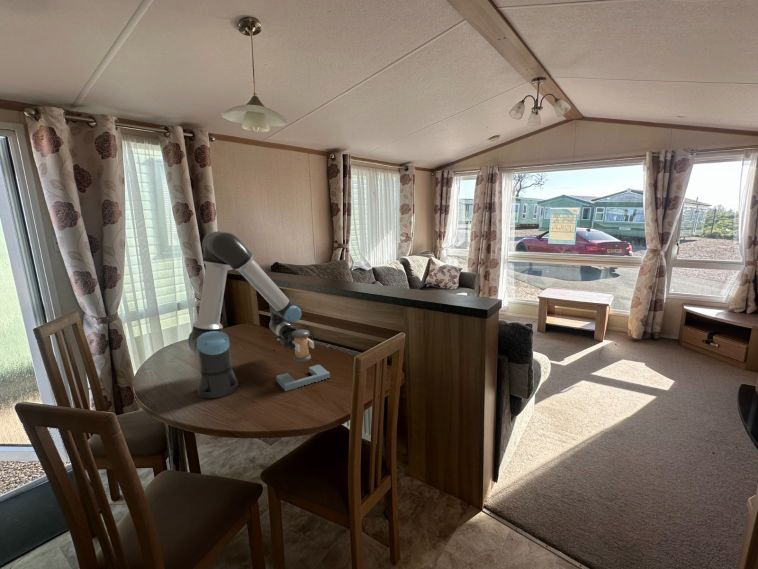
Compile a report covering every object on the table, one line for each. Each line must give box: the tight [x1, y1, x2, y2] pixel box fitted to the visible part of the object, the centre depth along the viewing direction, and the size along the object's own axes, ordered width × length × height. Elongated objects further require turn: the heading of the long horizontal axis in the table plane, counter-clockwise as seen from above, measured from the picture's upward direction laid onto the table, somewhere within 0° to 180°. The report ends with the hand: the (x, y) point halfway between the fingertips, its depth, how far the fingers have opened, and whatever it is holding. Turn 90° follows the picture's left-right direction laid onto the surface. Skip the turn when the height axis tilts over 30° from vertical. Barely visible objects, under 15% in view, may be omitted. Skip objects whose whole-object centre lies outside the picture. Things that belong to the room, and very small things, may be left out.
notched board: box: [275, 364, 331, 392], centre depth 154 cm, size 20×11×2 cm, turn 124°
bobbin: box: [292, 329, 312, 363], centre depth 152 cm, size 7×7×12 cm
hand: (306, 346), depth 148 cm, fingers closed on bobbin, 5 cm apart
